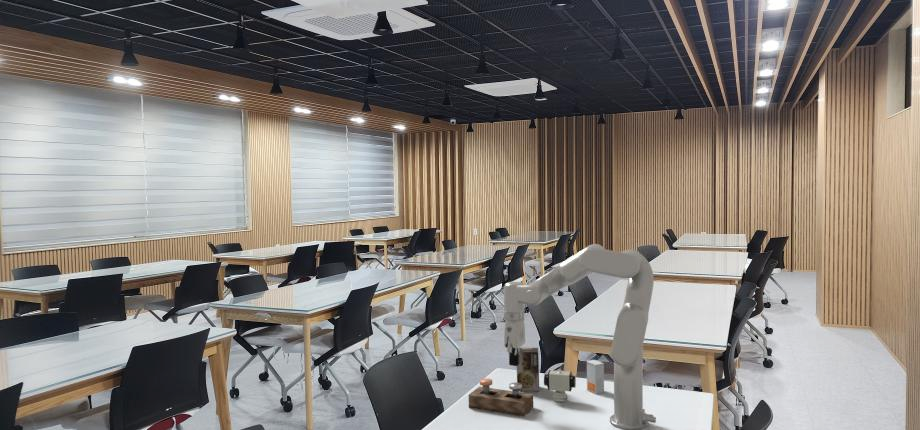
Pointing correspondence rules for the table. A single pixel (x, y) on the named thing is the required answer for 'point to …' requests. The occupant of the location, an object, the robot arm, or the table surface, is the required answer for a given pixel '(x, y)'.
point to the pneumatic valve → (560, 383)
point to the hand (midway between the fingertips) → (514, 364)
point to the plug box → (501, 401)
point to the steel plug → (515, 389)
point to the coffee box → (528, 369)
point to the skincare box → (595, 376)
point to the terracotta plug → (486, 385)
